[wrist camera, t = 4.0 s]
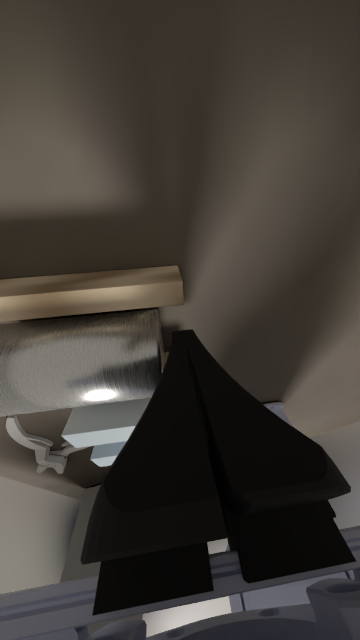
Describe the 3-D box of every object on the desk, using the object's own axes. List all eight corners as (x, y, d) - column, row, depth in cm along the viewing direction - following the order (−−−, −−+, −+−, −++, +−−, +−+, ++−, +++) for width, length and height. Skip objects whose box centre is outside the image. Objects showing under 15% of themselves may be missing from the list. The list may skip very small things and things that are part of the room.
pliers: (106, 434, 18) (85, 473, 25) (109, 419, 19) (89, 460, 27) (-4, 427, 15) (8, 474, 22) (9, 410, 16) (16, 459, 23)
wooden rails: (177, 265, 9) (182, 281, 7) (182, 359, 14) (186, 385, 12) (-25, 281, 9) (-82, 304, 7) (53, 374, 13) (34, 404, 11)
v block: (169, 374, 15) (172, 420, 12) (175, 414, 20) (178, 455, 16) (83, 385, 14) (61, 435, 11) (109, 423, 19) (99, 467, 16)
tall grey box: (105, 490, 38) (43, 811, 18) (84, 488, 35) (-22, 877, 15) (151, 476, 35) (140, 847, 15) (132, 472, 32) (83, 942, 11)
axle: (155, 293, 10) (154, 357, 6) (164, 347, 13) (166, 411, 9) (5, 307, 9) (-104, 386, 6) (51, 359, 13) (2, 433, 9)
